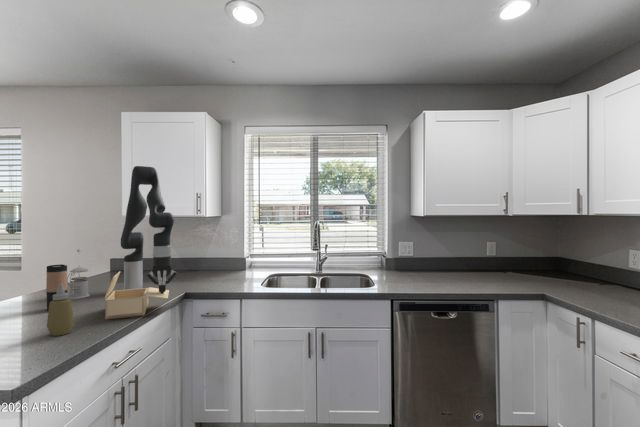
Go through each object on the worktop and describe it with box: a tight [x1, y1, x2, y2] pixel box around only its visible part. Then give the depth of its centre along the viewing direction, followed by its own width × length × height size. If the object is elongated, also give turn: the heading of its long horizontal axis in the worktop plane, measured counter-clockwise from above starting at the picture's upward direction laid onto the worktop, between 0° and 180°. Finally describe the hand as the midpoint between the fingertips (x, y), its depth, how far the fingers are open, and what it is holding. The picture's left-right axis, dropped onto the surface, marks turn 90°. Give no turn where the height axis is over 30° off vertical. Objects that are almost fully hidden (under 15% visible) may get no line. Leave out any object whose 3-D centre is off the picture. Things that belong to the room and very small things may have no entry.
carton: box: [104, 287, 149, 320], centre depth 152 cm, size 23×14×8 cm, turn 22°
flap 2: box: [146, 286, 170, 300], centre depth 157 cm, size 17×1×9 cm
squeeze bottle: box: [46, 284, 75, 337], centre depth 124 cm, size 8×8×18 cm
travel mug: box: [46, 264, 68, 312], centre depth 156 cm, size 8×8×20 cm
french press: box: [67, 248, 91, 300], centre depth 180 cm, size 10×12×25 cm
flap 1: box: [104, 271, 121, 300], centre depth 150 cm, size 17×1×9 cm, turn 22°
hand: (162, 292), depth 157 cm, fingers closed
